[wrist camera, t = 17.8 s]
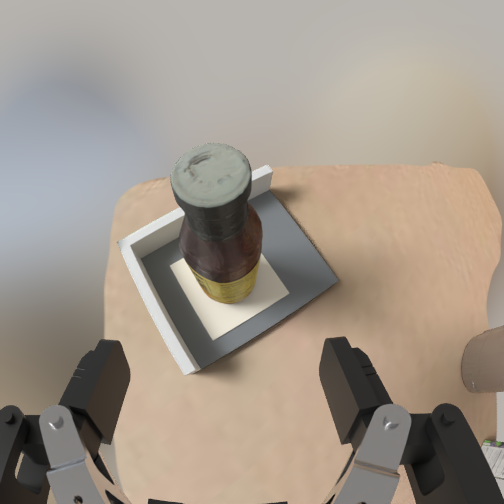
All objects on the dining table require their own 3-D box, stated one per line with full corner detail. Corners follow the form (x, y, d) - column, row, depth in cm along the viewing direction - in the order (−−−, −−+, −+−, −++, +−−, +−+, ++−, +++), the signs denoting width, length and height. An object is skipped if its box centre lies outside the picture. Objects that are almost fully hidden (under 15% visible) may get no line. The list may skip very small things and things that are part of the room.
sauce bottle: (200, 255, 33) (156, 126, 14) (254, 252, 33) (265, 117, 15) (202, 311, 30) (139, 226, 12) (258, 307, 30) (280, 216, 12)
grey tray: (263, 187, 38) (267, 164, 34) (335, 282, 33) (350, 269, 29) (131, 258, 33) (117, 242, 29) (192, 374, 28) (184, 375, 24)
